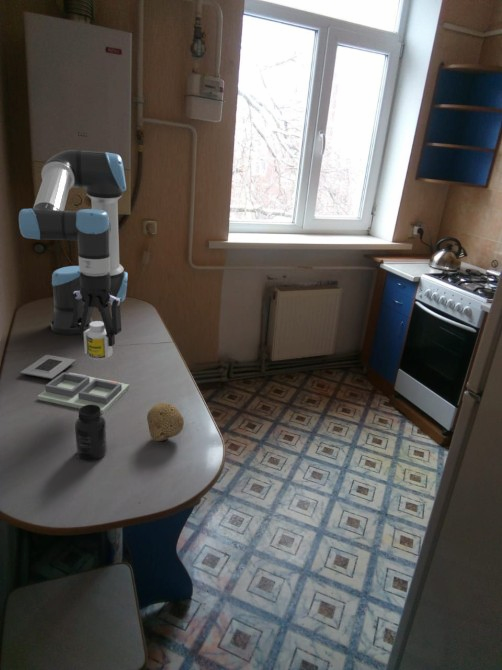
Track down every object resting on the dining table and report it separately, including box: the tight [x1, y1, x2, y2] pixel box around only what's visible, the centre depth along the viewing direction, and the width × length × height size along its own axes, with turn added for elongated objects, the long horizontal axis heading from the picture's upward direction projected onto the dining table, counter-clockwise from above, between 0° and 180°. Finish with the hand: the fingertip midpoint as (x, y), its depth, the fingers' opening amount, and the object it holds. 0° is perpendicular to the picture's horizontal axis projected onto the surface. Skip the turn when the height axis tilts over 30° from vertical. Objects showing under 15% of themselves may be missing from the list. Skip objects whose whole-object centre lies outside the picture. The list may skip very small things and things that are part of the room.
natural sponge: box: [146, 402, 184, 442], centre depth 113 cm, size 9×9×10 cm
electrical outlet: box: [19, 354, 77, 380], centre depth 142 cm, size 13×10×2 cm
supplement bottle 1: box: [87, 320, 107, 361], centre depth 123 cm, size 5×5×10 cm
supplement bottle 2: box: [74, 405, 108, 462], centre depth 106 cm, size 7×7×12 cm
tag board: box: [37, 371, 130, 415], centre depth 131 cm, size 15×20×3 cm
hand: (98, 353), depth 125 cm, fingers closed on supplement bottle 1, 5 cm apart
